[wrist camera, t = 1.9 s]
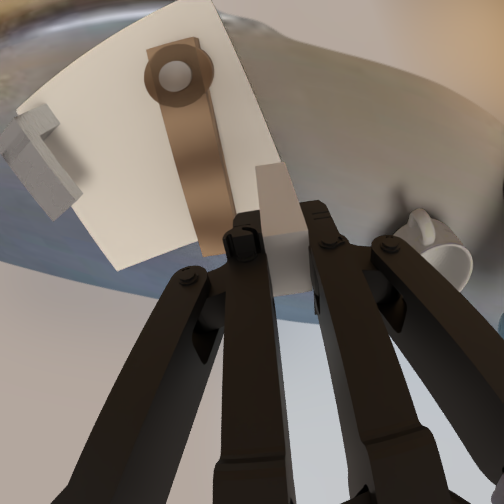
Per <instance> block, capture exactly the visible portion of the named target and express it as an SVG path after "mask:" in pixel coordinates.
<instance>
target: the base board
mask: <svg viewBox="0 0 504 504" xmlns="http://www.w3.org/2000/svg"><path fill="white" fill-rule="evenodd" d="M189 37H196V38H199V43H200V47H201V49H202V50H204V51H205V52H206V53H207V54H208V55H209V57H210V58H211V60H212V62H213V65H214V78H213V82H212V84H211V86H210V88H209V90H210V94H211V99H212V103H213V108H214V113H215V117H216V122H217V127H218V131H219V136H220V140H221V145H222V150H223V154H224V159H225V163H226V168H227V172H228V177H229V181H230V186H231V191H232V195H233V200H234V204H235V209H236V213H237V214H238V213H241V212H247V211H254V210H260V209H259V199H258V189H257V180H256V170H255V166H260V165H266V164H273V163H280V162H281V160H280V157H279V154H278V152H277V149H276V147H275V144H274V142H273V139H272V137H271V134H270V132H269V129H268V127H267V124H266V122H265V119H264V117H263V114H262V112H261V109H260V107H259V105H258V102H257V100H256V97H255V95H254V93H253V90H252V88H251V86H250V83H249V81H248V79H247V76H246V74H245V72H244V69H243V67H242V65H241V63H240V60H239V58H238V56H237V54H236V52H235V49H234V47H233V45H232V43H231V41H230V38H229V36H228V34H227V32H226V30H225V28H224V25H223V23H222V21H221V19H220V17H219V15H218V13H217V11H216V9H215V7H214V5H213V2H212V0H178V1H176V2H173V3H171V4H169V5H167V6H165V7H163V8H161V9H159V10H157V11H155V12H153V13H151V14H149V15H147V16H146V17H144V18H142V19H140V20H138V21H136V22H135V23H133V24H131V25H129V26H128V27H126V28H124V29H123V30H121V31H119V32H118V33H116V34H114V35H113V36H111V37H109V38H108V39H106V40H105V41H103V42H102V43H100V44H99V45H97V46H96V47H94V48H93V49H91V50H90V51H88V52H87V53H85V54H84V55H82V56H81V57H80V58H78V59H77V60H75V61H74V62H73V63H71V64H70V65H69V66H67V67H66V68H65V69H63V70H62V71H61V72H60V73H58V74H57V75H56V76H55V77H53V78H52V79H51V80H50V81H48V82H47V83H46V84H45V85H44V86H42V87H41V88H40V89H39V90H38V91H37V92H35V93H34V94H33V95H32V96H31V97H30V98H29V99H27V100H26V101H25V102H24V103H23V104H22V105H21V106H20V107H19V108H18V109H17V110H16V111H17V113H18V115H21V114H23V113H25V112H27V111H30V110H32V109H34V108H37V107H39V106H41V105H44V104H47V105H48V107H49V108H50V109H51V111H52V112H53V114H54V115H55V117H56V118H57V119H58V121H59V122H60V125H59V126H58V127H57V128H56V129H55V130H54V131H53V132H52V133H51V134H50V135H49V136H48V137H47V138H46V139H45V140H44V143H45V144H46V146H47V147H48V148H49V150H50V151H51V152H52V154H53V155H54V157H55V158H56V159H57V160H58V162H59V163H60V164H61V166H62V167H63V168H64V170H65V171H66V172H67V174H68V175H69V176H70V177H71V179H72V180H73V181H74V183H75V184H76V185H77V186H78V188H79V189H80V190H81V191H82V193H83V194H82V196H81V197H80V198H79V199H78V200H77V201H76V202H75V203H74V204H73V205H71V207H72V208H73V210H74V211H75V213H76V214H77V216H78V217H79V219H80V220H81V222H82V223H83V225H84V226H85V227H86V229H87V230H88V232H89V233H90V235H91V236H92V238H93V239H94V240H95V242H96V243H97V245H98V246H99V247H100V249H101V250H102V252H103V253H104V254H105V256H106V257H107V258H108V260H109V261H110V262H111V264H112V265H113V266H114V268H115V269H116V270H117V271H119V270H122V269H124V268H127V267H129V266H132V265H135V264H137V263H140V262H142V261H145V260H148V259H150V258H153V257H156V256H158V255H161V254H164V253H166V252H169V251H172V250H174V249H177V248H180V247H182V246H185V245H188V244H190V243H193V242H196V241H198V239H197V236H196V232H195V229H194V226H193V223H192V219H191V216H190V213H189V209H188V206H187V203H186V199H185V196H184V193H183V189H182V186H181V182H180V179H179V175H178V172H177V168H176V165H175V161H174V158H173V154H172V150H171V147H170V143H169V139H168V136H167V132H166V128H165V125H164V121H163V117H162V113H161V109H160V105H159V103H158V102H156V101H155V100H154V99H153V98H152V97H151V96H150V95H149V93H148V92H147V90H146V87H145V83H144V71H145V68H146V65H147V63H148V56H147V52H146V50H147V49H150V48H153V47H156V46H160V45H163V44H167V43H170V42H174V41H178V40H182V39H185V38H189Z"/></svg>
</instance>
